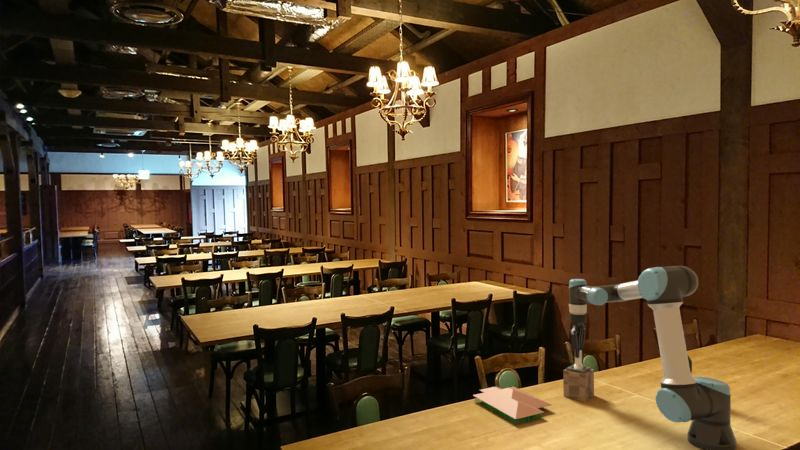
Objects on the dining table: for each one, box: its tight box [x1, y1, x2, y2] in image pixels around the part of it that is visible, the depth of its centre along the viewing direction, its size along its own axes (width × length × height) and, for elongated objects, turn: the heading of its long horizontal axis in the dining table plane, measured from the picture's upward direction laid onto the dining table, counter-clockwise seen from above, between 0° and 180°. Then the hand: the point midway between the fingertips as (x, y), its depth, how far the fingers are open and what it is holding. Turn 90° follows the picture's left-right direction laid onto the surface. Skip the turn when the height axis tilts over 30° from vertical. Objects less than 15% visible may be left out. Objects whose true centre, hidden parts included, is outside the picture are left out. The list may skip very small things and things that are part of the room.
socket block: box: [562, 363, 595, 402], centre depth 233 cm, size 10×10×13 cm
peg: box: [574, 363, 584, 370], centre depth 233 cm, size 4×4×12 cm
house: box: [472, 385, 552, 425], centre depth 222 cm, size 23×33×8 cm
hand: (578, 364), depth 233 cm, fingers closed
